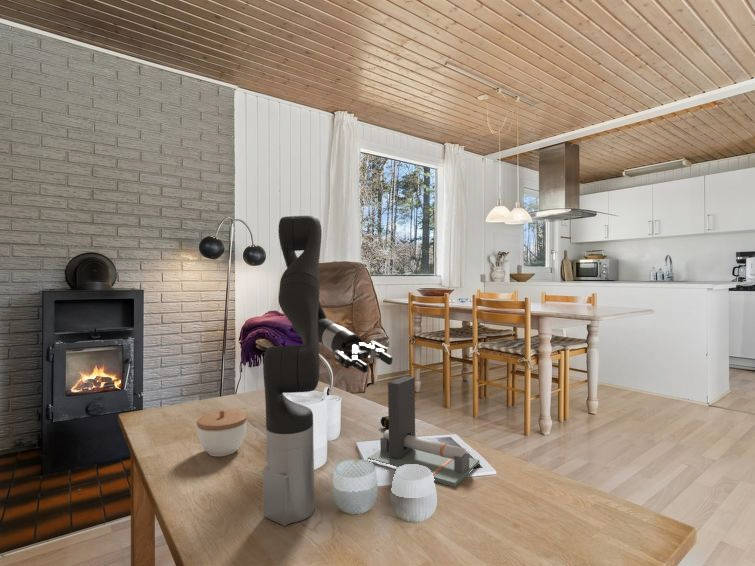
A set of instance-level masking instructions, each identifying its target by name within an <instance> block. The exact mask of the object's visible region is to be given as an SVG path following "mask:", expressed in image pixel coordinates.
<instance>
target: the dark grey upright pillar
mask: <svg viewBox="0 0 755 566" xmlns="http://www.w3.org/2000/svg"><path fill="white" fill-rule="evenodd" d="M415 378H416V377H412V376H402V377H399V378H397V379H394V380H391V381H388V382H387V398H388V400H387V402H388V403H387V404H388V415H387V416H388V417H389V456H391V457H395V458H401V457H402V456H404V455H405V454H407V453H408V452H410V451H411V450H413V449H411V448H407V447H404V436H405V435H411V436H415V437H416V405H415V404H416V400H415V399H416V398H415V397H416V396H415V395H416V393H415V392H416V391H415V389H416V386H415Z"/></svg>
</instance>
